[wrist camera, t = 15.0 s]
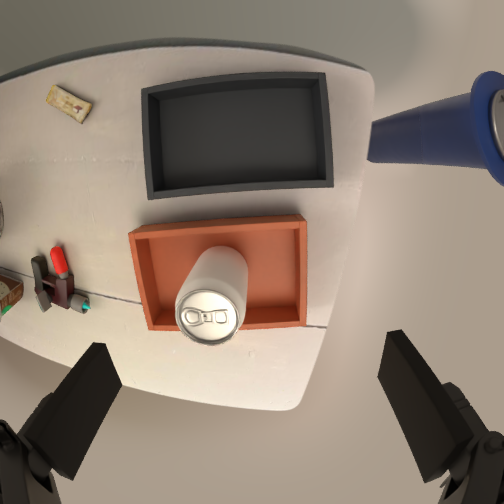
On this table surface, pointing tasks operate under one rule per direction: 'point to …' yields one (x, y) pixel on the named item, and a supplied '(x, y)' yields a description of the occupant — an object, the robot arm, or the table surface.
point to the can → (213, 297)
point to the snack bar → (68, 103)
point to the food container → (9, 293)
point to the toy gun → (56, 284)
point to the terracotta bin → (242, 240)
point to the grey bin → (237, 134)
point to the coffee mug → (1, 219)
